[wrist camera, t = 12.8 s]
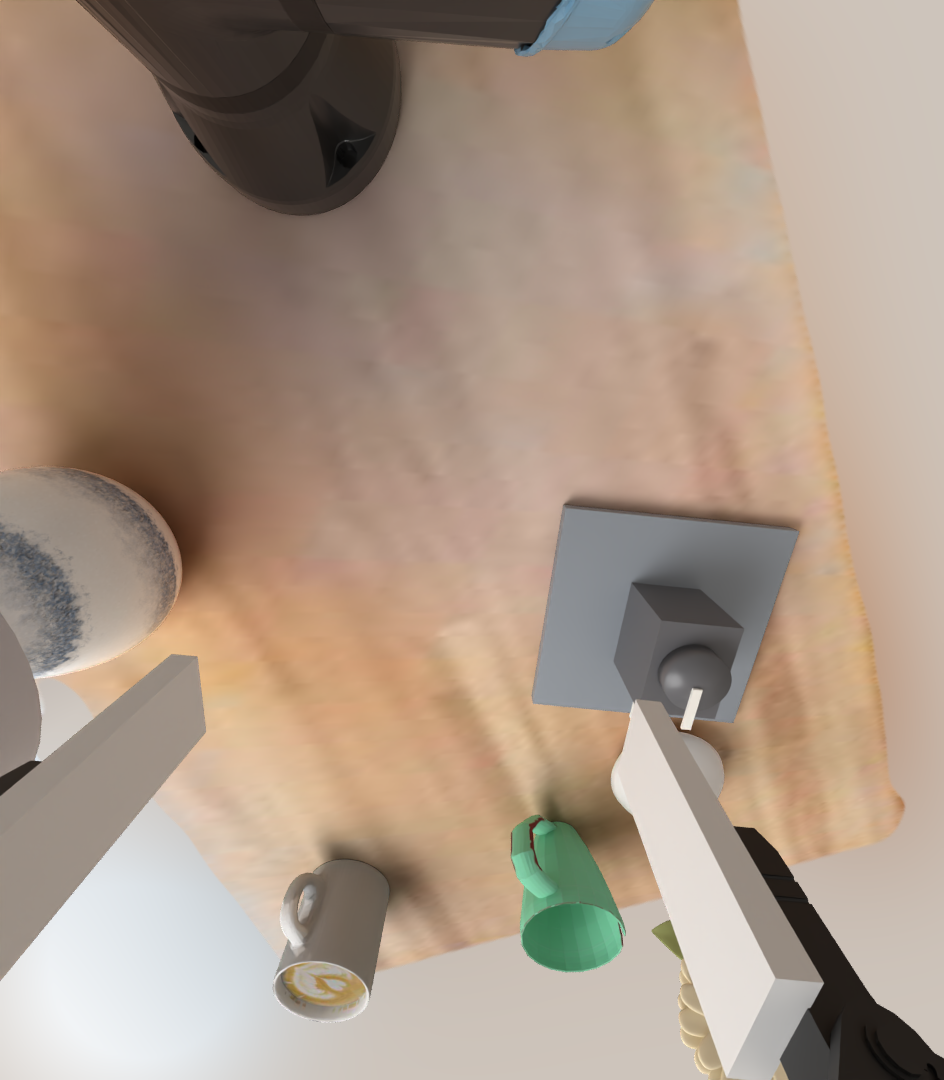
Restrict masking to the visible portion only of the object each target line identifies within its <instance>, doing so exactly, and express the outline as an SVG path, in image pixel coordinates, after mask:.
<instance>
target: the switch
mask: <svg viewBox="0 0 944 1080" xmlns="http://www.w3.org/2000/svg"><path fill="white" fill-rule="evenodd" d="M798 534H799V531H797V530H795V529H793V528H790V527H781V526H771V525H761V524H751V523H741V522H731V521H721V520H711V519H701V518H691V517H681V516H671V515H661V514H651V513H641V512H631V511H621V510H611V509H601V508H591V507H581V506H571V505H563V510H562V516H561V522H560V528H559V534H558V540H557V546H556V552H555V558H554V564H553V570H552V577H551V583H550V589H549V595H548V601H547V607H546V613H545V619H544V625H543V631H542V637H541V643H540V649H539V655H538V661H537V667H536V673H535V679H534V685H533V691H532V701H533V704H543V705H553V706H563V707H574V708H584V709H594V710H605V711H615V712H625V713H630V716H629V718H631V716H632V712H633V708H634V702H633V700H632V698H631V696H630V694H629V692H628V690H627V688H626V686H625V684H624V682H623V680H622V678H621V676H620V674H619V672H618V670H617V668H616V666H615V664H614V662H613V661H614V657H615V652H616V648H617V644H618V639H619V635H620V630H621V626H622V622H623V617H624V613H625V609H626V604H627V600H628V596H629V591H630V587H631V583H641V584H651V585H662V586H672V587H682V588H692V589H701V590H702V591H703V592H704V593H705V594H706V595H707V596H708V597H709V598H711V599H712V600H713V601H714V602H715V603H716V604H717V605H718V606H720V607H721V608H722V609H723V610H724V611H725V612H726V613H727V614H729V615H730V616H731V617H732V618H733V619H734V620H735V621H736V622H737V623H739V624H740V625H741V626H742V627H743V628H744V632H743V635H742V638H741V641H740V644H739V647H738V650H737V653H736V656H735V659H734V662H733V665H732V668H731V671H730V672H731V676H732V682H731V687H730V689H729V691H728V693H727V695H726V696H725V697H724V698H723V699H722V700H721V702H720V705H719V708H718V711H717V714H716V717H715V719H709V718H698V717H695V718H694V719H697V720H707V721H718V722H728V723H733V722H734V719H735V716H736V714H737V711H738V708H739V705H740V702H741V699H742V696H743V693H744V690H745V687H746V685H747V682H748V679H749V676H750V673H751V670H752V667H753V664H754V661H755V659H756V656H757V653H758V650H759V647H760V644H761V641H762V638H763V635H764V632H765V630H766V627H767V624H768V621H769V618H770V615H771V612H772V609H773V606H774V604H775V601H776V598H777V595H778V592H779V589H780V586H781V583H782V580H783V578H784V575H785V572H786V569H787V566H788V563H789V560H790V557H791V554H792V551H793V549H794V546H795V543H796V540H797V537H798ZM669 716H670V717H677V718H683V717H684V716H678V715H669Z"/></svg>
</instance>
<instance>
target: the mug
mask: <svg viewBox="0 0 944 1080" xmlns="http://www.w3.org/2000/svg"><path fill="white" fill-rule="evenodd" d="M533 833H535V834H536V836H535V839H534V840H533ZM511 860H512V863H513V866H514V869H515V872H516V875H517V878H518V879H519V880H520V882H521V883H522V884H523V885H524V892H523V901H522V911H521V920H520V932H521V943H522V947H523V948H524V950H525V952H526V954H527V955H528V956H529V957H530V958H531V959H533V960H534V961H535V962H536V963H538V964H539V965H542V966H544V967H547V968H549V969H551V970H556V971H562V972H583V971H588V970H592V969H596V968H599V967H600V966H603V965H605V964H607V963H609V962H610V961H612V960H613V959H614V958H615V957H616V956H617V955H618V954H619V953H620V951H621V949H622V947H623V938H622V933H621V929H622V932H623V934H624V936H625V934H626V931H625V927H624V923H623V920H622V918H621V916H620V913H619V911H618V909H617V906H616V904H615V902H614V899H613V897H612V895H611V892H610V890H609V888H608V886H607V884H606V882H605V880H604V878H603V876H602V874H601V872H600V870H599V868H598V866H597V864H596V862H595V860H594V859H593V857H592V855H591V853H590V852H589V850H588V848H587V846H586V845H585V843H584V842H583V840H582V839H581V837H580V836H579V835H578V833H577V832H576V830H575V829H574V828H573V827H572V826H571V825H569V824H567V823H564V822H550V821H548V820H546V819H545V818H543V817H542V816H540V815H534V816H531V817H529V818H527V819H526V820H524V821H523V822H522V823H520V824H519V825H517V826H516V827H515V828H514V830H513V831H512V833H511ZM620 926H621V929H620Z"/></svg>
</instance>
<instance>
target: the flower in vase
mask: <svg viewBox="0 0 944 1080" xmlns="http://www.w3.org/2000/svg"><path fill="white" fill-rule="evenodd" d="M679 734H680V735H681V737H682V739H683V741H684V742H685V744H686V746H687V747H688V749H689V751H690V753H691V754H692V756H693V758H694V760H695V761H696V763H697V765H698V766H699V768H700V770H701V772H702V773H703V775H704V777H705V778H706V780H707V782H708V784H709V785H710V787H711V789H712V791H713V792H714V794H715V796H716V797H717V799H718V797H719V795H720V793H721V790H722V788H723V784H724V769H723V764H722V760H721V758H720V756H719V754H718V752H717V751H716V750H715V749H714V748H713V747H712V746H711V745H710V744H709V743H708V742H706V741H705V740H703V739H701V738H699V737H696V736H694V735H691V734H688V733H684V732H679ZM621 755H622V753H621V754H620V755H619V757H618V758H617V760H616V762H615V765H614V767H613V770H612V773H611V787H612V791H613V793H614V795H615V797H616V799H617V800H618V801H619V802H620V804H621V805H622V806H623V807H624V808H625V809H626V810H627V811H628V812H629V813H631V814H632V811H631V808H630V806H629V803H628V800H627V797H626V794H625V792H624V789H623V786H622V783H621V780H620V777H619V775H618V772H617V770H618V766H619V763H620V759H621ZM632 815H633V814H632ZM652 932H653V934H654V935H655V936H656V937H657V938H658V939H659V940H660V941H661V942H662V943H663V944H664V945H665V946H666V947H667V948H668V949H669V950H670V951H672V952H673V953H674V954H675V955H676V956H677V957H678V958H679V959H681V960H682V961H681V972H680V975H679V978H680V982H681V984H682V986H681V988H680V994H679V996H678V1004H679V1007H680V1009H681V1012H680V1013H679V1022H680V1025H681V1029H680V1035H681V1038H682V1041H683V1043H684V1044H685V1045H686V1046H687V1047H689V1048H692V1049H696V1052H695V1057H694V1058H695V1064H696V1066H697V1068H698V1069H699V1071H700V1072H701V1073H703V1074H709V1077H708V1080H743V1079H732V1078H726V1075H725V1072H724V1069H723V1067H722V1064H721V1061H720V1058H719V1055H718V1053H717V1050H716V1047H715V1044H714V1041H713V1039H712V1036H711V1033H710V1030H709V1027H708V1024H707V1022H706V1019H705V1016H704V1013H703V1010H702V1008H701V1005H700V1002H699V999H698V996H697V994H696V991H695V988H694V985H693V982H692V980H691V977H690V974H689V971H688V968H687V966H686V963H685V960H684V957H683V954H682V952H681V949H680V946H679V943H678V940H677V937H676V935H675V932H674V929H673V926H672V923H671V921H670V920H669V921H666V922H664V923H662V924H660V925H659V926H657V927H655V928H654V929H653V930H652ZM771 1080H789V1079H788V1077H787V1075H786V1073H785V1070H784V1068H783V1066H782V1064H781V1062H780V1064H779V1066H778V1068H777V1070H776V1072H775V1073H774V1075H773V1077H772V1079H771Z"/></svg>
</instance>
